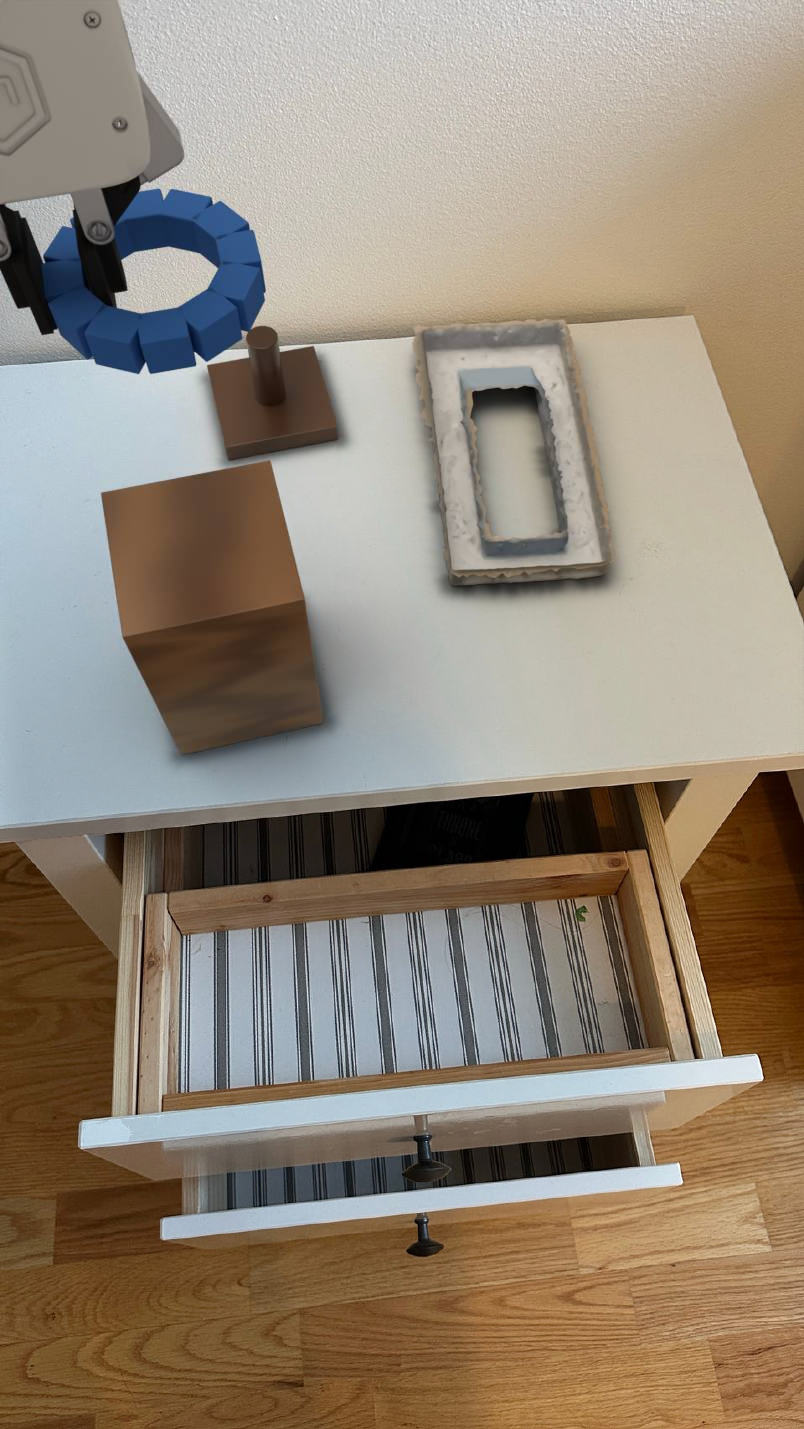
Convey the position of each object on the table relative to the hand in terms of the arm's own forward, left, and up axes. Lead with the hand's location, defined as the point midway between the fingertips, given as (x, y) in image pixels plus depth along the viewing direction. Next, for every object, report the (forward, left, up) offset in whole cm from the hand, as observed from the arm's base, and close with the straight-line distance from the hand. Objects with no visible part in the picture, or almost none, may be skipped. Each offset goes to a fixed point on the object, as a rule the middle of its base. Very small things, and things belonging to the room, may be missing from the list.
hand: (77, 305), depth 45 cm
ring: (+4, 0, 0) cm, 4 cm away
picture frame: (+26, +10, -30) cm, 41 cm away
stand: (+2, -4, -29) cm, 30 cm away
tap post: (+9, +20, -29) cm, 37 cm away
